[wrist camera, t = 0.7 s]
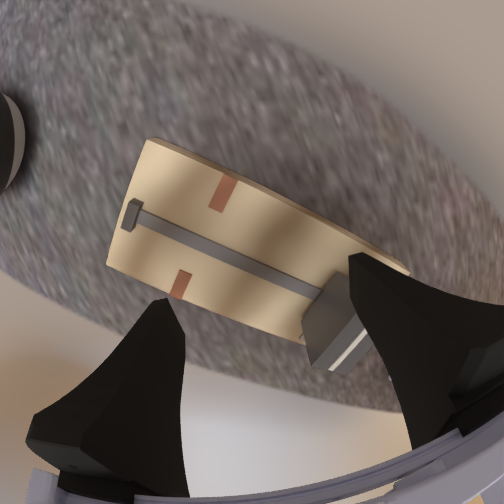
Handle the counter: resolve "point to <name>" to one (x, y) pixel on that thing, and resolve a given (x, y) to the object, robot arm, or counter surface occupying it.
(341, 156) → the counter surface
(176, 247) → the slider panel
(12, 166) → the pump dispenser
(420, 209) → the counter surface
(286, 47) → the counter surface
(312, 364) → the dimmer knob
